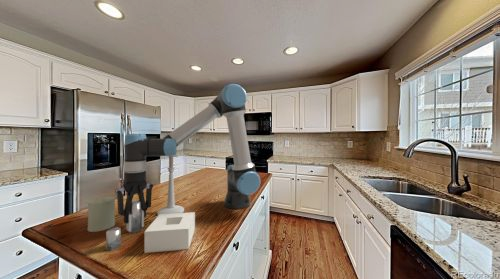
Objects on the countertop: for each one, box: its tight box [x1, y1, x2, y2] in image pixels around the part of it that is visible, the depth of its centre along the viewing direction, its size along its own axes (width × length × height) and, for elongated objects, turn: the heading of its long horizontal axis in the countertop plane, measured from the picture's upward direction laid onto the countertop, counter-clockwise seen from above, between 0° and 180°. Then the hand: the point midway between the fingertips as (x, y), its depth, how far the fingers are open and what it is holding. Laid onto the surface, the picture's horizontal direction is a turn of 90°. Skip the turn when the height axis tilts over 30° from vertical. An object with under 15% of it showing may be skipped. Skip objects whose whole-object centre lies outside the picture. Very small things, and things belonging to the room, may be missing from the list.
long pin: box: [129, 199, 142, 234], centre depth 73 cm, size 4×4×12 cm
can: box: [87, 196, 116, 233], centre depth 77 cm, size 9×9×12 cm
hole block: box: [144, 211, 196, 254], centre depth 67 cm, size 14×14×7 cm
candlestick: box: [156, 156, 185, 216], centre depth 92 cm, size 13×13×30 cm
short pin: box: [105, 226, 122, 252], centre depth 62 cm, size 4×4×6 cm
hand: (135, 227), depth 73 cm, fingers closed on long pin, 4 cm apart
